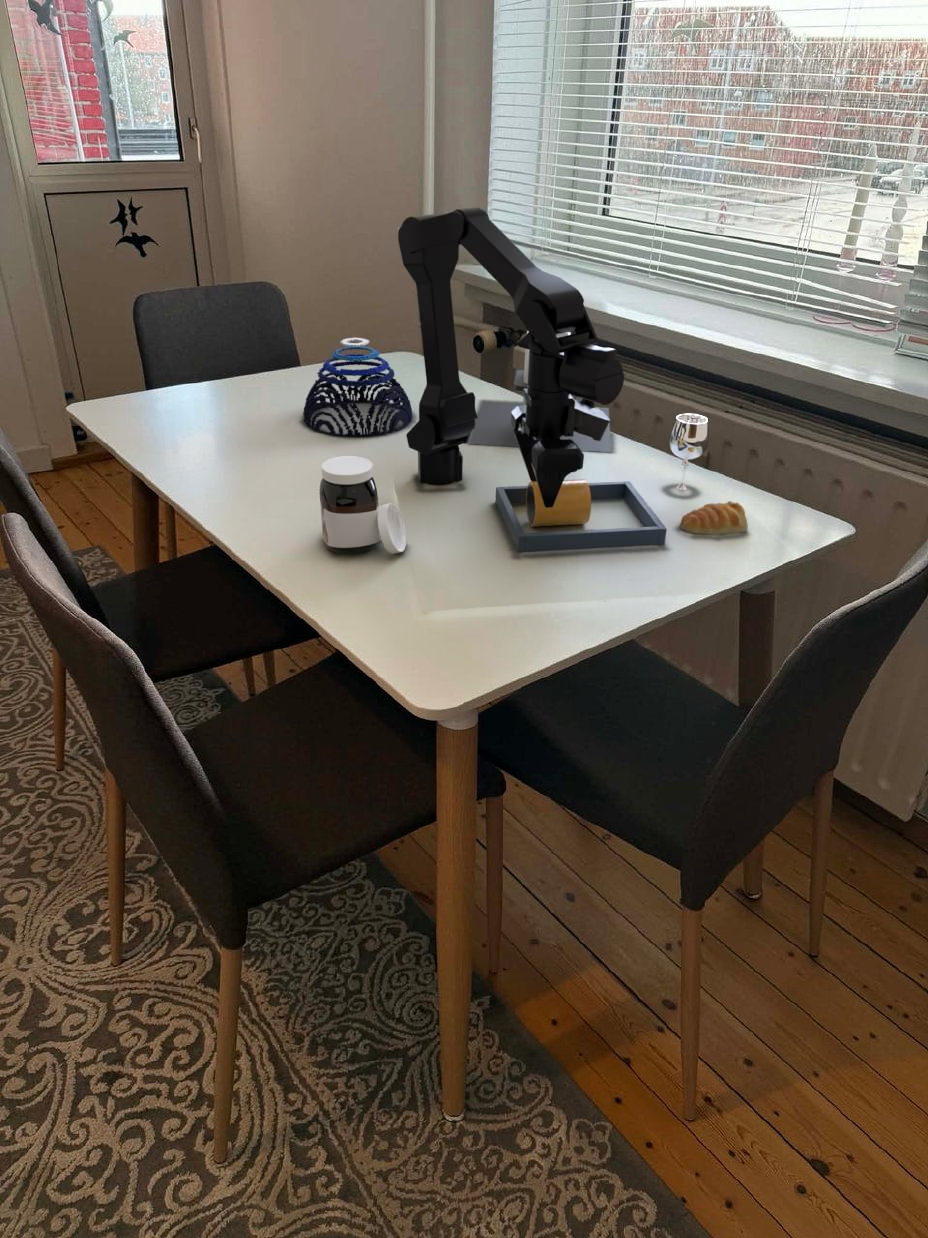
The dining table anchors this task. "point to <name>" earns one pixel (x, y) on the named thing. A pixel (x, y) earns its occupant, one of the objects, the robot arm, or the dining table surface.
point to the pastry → (715, 519)
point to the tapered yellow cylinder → (560, 504)
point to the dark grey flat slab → (497, 420)
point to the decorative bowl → (362, 382)
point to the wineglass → (689, 439)
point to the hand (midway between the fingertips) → (541, 493)
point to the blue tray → (584, 538)
